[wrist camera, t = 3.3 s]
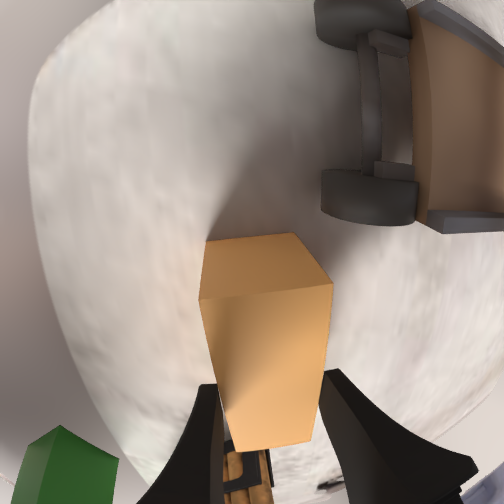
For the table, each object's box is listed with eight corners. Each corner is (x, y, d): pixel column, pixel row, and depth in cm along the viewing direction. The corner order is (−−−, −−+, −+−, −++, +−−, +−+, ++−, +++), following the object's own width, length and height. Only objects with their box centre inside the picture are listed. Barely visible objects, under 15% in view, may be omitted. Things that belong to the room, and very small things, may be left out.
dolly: (507, 96, 10) (560, 101, 5) (504, 208, 14) (556, 231, 8) (302, 17, 9) (351, -44, 3) (308, 201, 12) (368, 244, 7)
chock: (293, 231, 13) (333, 283, 8) (291, 379, 16) (310, 441, 12) (206, 240, 12) (198, 300, 8) (230, 387, 16) (236, 452, 11)
